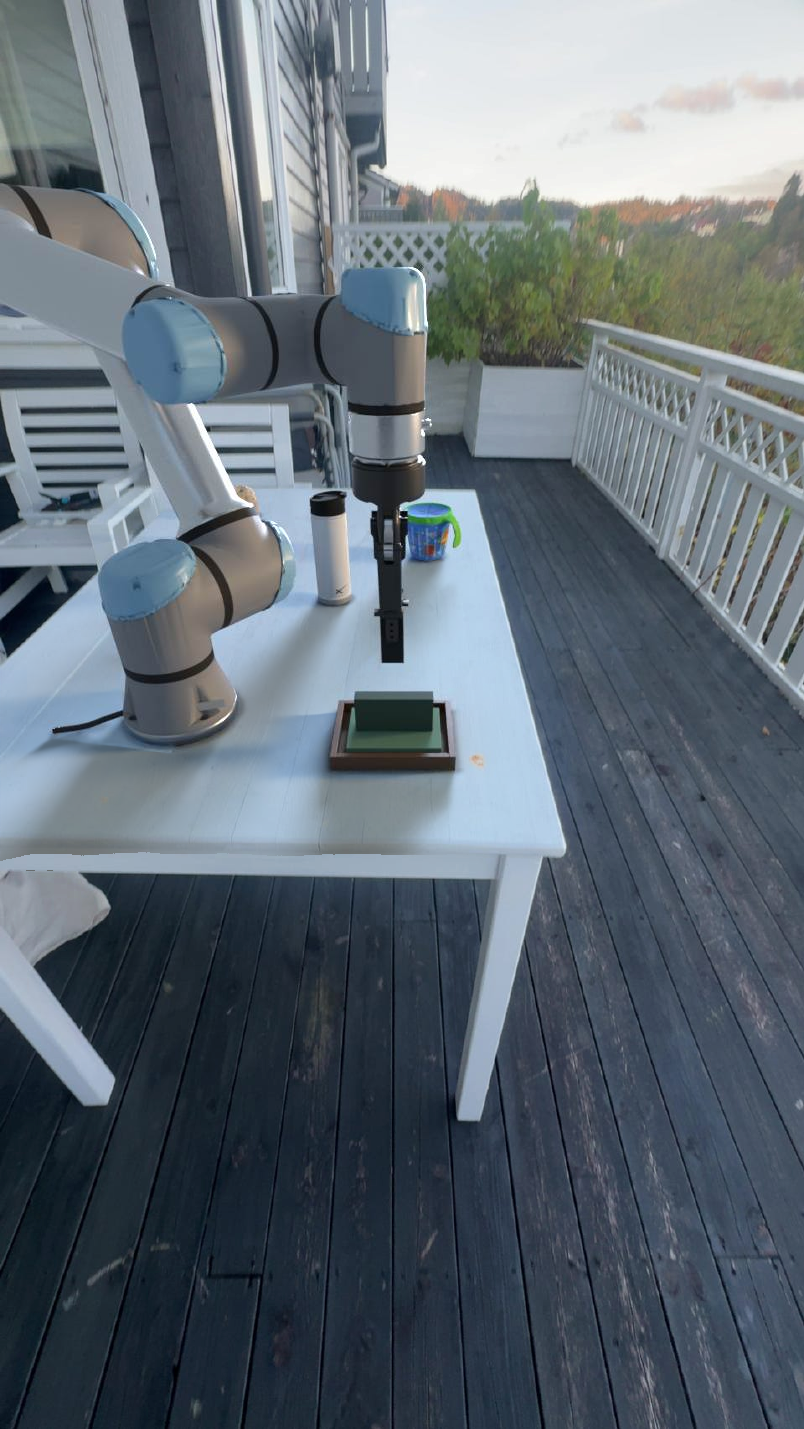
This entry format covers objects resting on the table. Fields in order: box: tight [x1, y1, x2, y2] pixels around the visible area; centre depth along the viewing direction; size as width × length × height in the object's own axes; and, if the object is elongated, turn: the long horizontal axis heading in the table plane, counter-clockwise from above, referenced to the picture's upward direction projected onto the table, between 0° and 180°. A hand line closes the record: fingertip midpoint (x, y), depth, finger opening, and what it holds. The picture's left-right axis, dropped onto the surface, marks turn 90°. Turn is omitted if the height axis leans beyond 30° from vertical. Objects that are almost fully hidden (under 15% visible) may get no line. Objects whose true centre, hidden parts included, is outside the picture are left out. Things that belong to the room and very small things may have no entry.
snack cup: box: [402, 502, 462, 562], centre depth 134 cm, size 16×10×10 cm
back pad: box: [346, 690, 441, 753], centre depth 81 cm, size 12×9×6 cm
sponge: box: [233, 485, 260, 516], centre depth 159 cm, size 9×10×10 cm
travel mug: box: [309, 490, 352, 606], centre depth 114 cm, size 6×7×20 cm
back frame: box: [329, 699, 457, 771], centre depth 83 cm, size 16×13×2 cm
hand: (392, 659), depth 76 cm, fingers closed
